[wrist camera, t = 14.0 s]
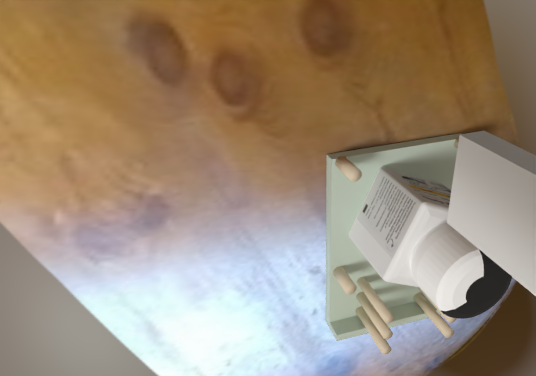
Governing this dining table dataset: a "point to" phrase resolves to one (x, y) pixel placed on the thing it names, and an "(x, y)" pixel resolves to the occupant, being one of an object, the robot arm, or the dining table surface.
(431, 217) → the container
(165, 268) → the dining table surface
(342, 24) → the dining table surface
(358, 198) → the dish rack
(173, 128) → the dining table surface
